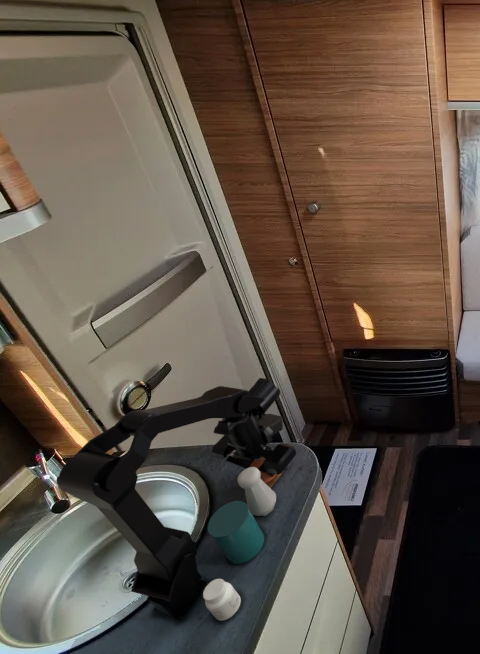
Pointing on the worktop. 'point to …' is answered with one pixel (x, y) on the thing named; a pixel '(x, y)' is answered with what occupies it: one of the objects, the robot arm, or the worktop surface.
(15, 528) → the worktop surface
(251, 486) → the salt shaker
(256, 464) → the brown lid
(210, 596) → the pill bottle
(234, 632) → the worktop surface
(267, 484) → the coaster
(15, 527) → the worktop surface
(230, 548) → the tin
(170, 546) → the robot arm
